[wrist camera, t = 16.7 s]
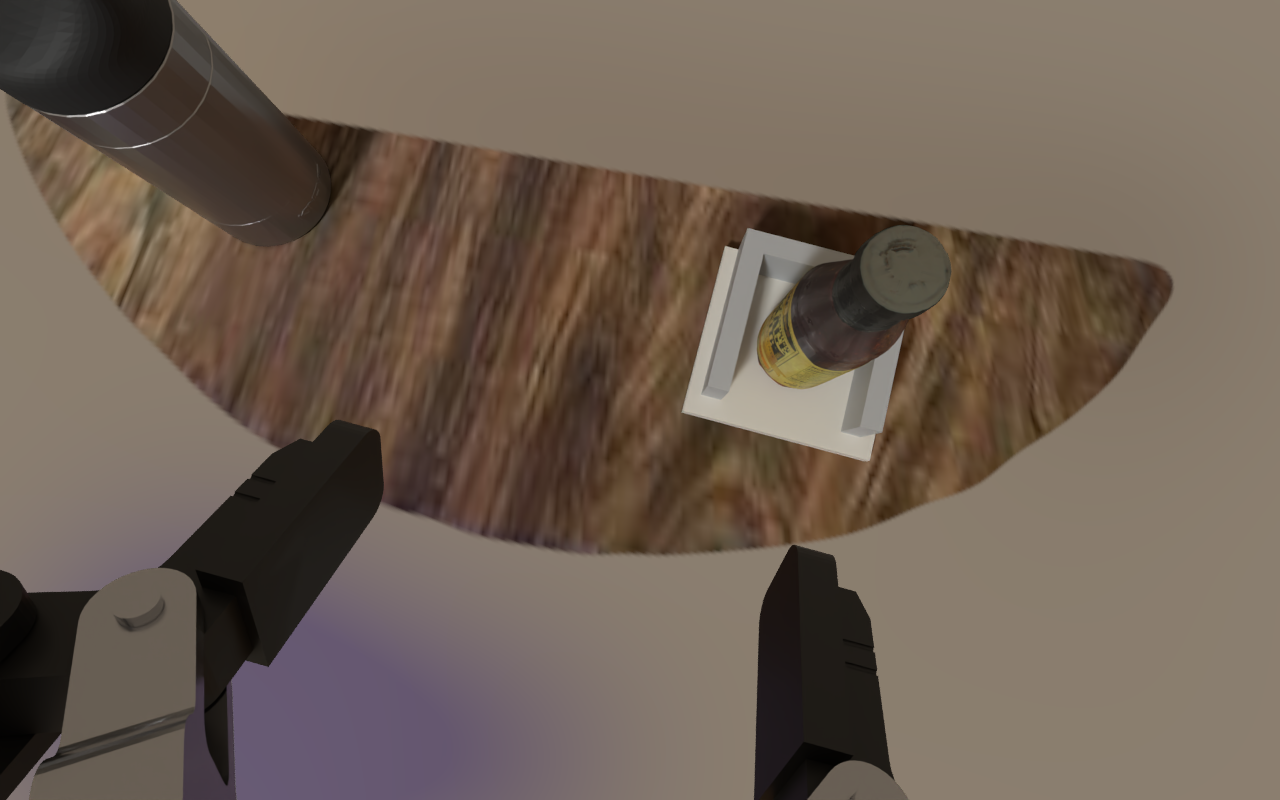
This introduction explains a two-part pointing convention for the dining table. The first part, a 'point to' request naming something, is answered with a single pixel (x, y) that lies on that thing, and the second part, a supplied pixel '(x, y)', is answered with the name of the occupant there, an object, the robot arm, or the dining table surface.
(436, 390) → the dining table surface
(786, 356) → the sauce bottle
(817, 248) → the white open tray
